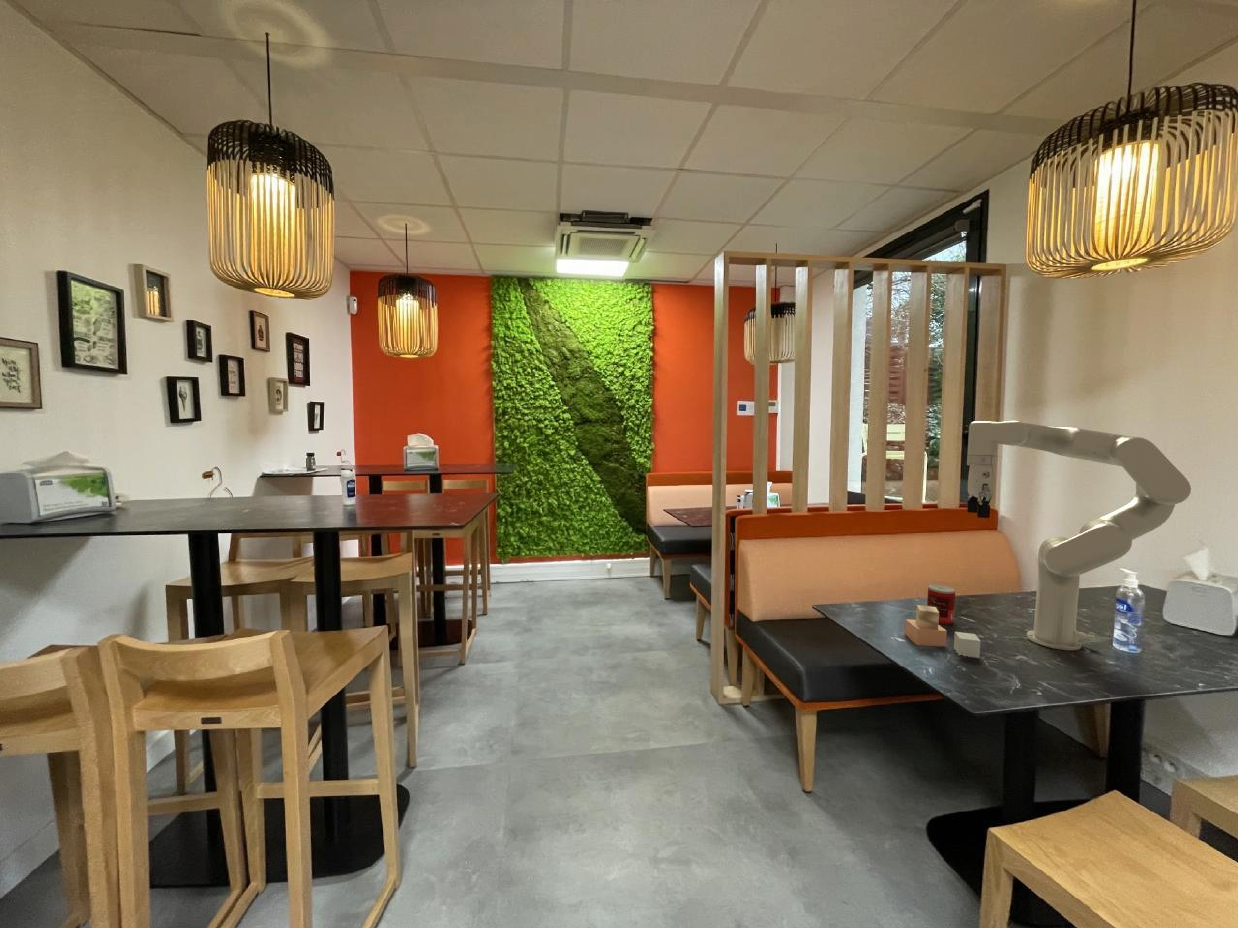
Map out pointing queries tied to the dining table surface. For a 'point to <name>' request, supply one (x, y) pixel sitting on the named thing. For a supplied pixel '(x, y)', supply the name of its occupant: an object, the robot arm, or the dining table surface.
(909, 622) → the terracotta block
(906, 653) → the dining table surface
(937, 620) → the maple cube
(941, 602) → the canned food
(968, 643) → the pale green-grey cube
